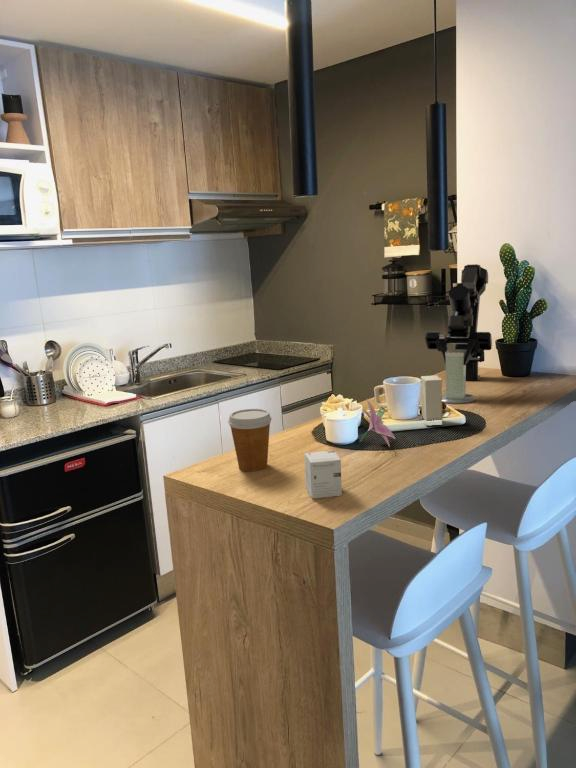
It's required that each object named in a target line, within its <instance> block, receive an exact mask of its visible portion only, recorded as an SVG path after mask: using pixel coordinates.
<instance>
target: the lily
mask: <svg viewBox="0 0 576 768" xmlns="http://www.w3.org/2000/svg"><path fill="white" fill-rule="evenodd" d="M365 400H366V402H367V405H368V408H369V411H367V410H366V409H363V408H362V410H361V411H362V412H364V414H365V415H366V416H367V417H368V418H369V426H368V427H369V428H368V429H367V431H365V433H364V434H363V436H362V437H361V439H360V440H359V443H362V441H363V440H364V438H365V437H366V435H367V434H368V432H370V431H371V432H372V431H373V432H374V433H376V434H379V435H380V436H381V437H382V438H383V439H384V441H385V442H386V444H387V446H388V447H389V448H390V447H391V446H390V442H389V440H388V437H390V438H393V439H394V440H396V437H395V435H394V433H393V432H392V431H391V429H390V428H389V427H388V426H387V425H386V424H384V423H386V422H385V421H384V420H383V419H382V418H381V416H380V415H378V414H377V412H376V411H377V410H376V409H375V407H374V406H373V404H372V403H371V402H370V401H369V399H368V398H366V399H365Z"/></svg>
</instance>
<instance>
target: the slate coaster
mask: <svg viewBox="0 0 576 768" xmlns="http://www.w3.org/2000/svg"><path fill="white" fill-rule="evenodd" d="M475 400H476V397H475V396H474V395H472V394H468V393H466V396H465V398H464V400H449V399H446V393H442V401H443V402H445V403H444V404H447V405H463V404H464V405H465V404H470V403H471V404H472V403H473V402H475Z"/></svg>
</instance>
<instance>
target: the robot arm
mask: <svg viewBox="0 0 576 768" xmlns="http://www.w3.org/2000/svg"><path fill="white" fill-rule="evenodd" d="M463 266H464V267H463V269H462V270H461V275H460V276H461V279H460V281H461V282H458V283H456V285H455V286H453V287H451V288H450V290H449V291H448V300H449V303H450V308H451V310H452V313H451V314H452V315H448V318H447V334H448V335H446V334H441V332H440V331H427V332H426V334H425V338H424V339H425V344H426V347H427V349H428V350H437V351H438V352H441V354H442V357H443V361H444V365H445V366H446V356H445V352H446V351H447V350H448V344H450V345H455V346H454V350H466V354H465V358H464V365H466V381H479V379H480V378H481V375H479V363H482V362H485V351H491V350H492V348H493V347H492V346H493V341H492V333H491V332H490V331H478V325H479V323H478V322H479V313H480V312H479V311H480V303H481V302H480V301H481V296H482V295H483V294H484V292H485V291H486V287H487V284H489V272H488V269H487V268H486V269H485V268H484V267H482V266H481V264H477V263H475V264H466V265H463Z"/></svg>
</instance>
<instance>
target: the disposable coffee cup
mask: <svg viewBox="0 0 576 768" xmlns="http://www.w3.org/2000/svg"><path fill="white" fill-rule="evenodd" d="M228 417H229V419H228V420H227V423H228V424H229V427H230V430H231V435H232V441H233V445H234V450H235V455H236V459H237V460H236V461H237V465H238V469H239V470H242V471H245V472H257V471H261V470H263V469H265V468H267V467H268V455H269V443H270V442H269V440H270V427H271V422H272V420H273V419H272V418H273V417H272V416H271V414H270V411H268V410H267V409H264V408H245V409H239V410H235V411H233V412H231V413H229V416H228Z"/></svg>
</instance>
